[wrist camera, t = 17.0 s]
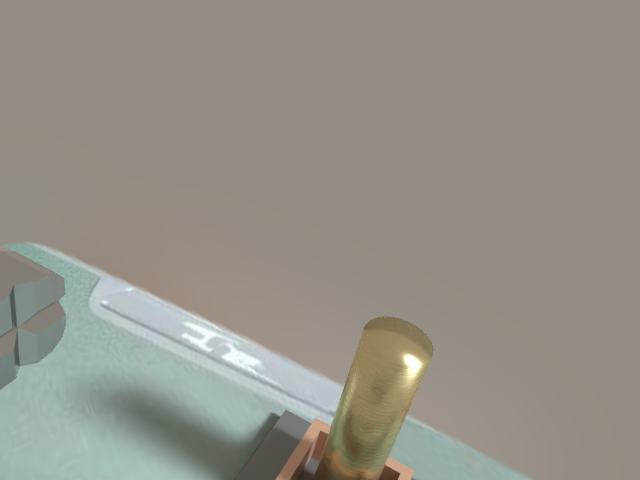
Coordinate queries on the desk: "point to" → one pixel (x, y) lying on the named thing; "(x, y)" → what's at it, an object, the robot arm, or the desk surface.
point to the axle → (375, 399)
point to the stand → (300, 453)
